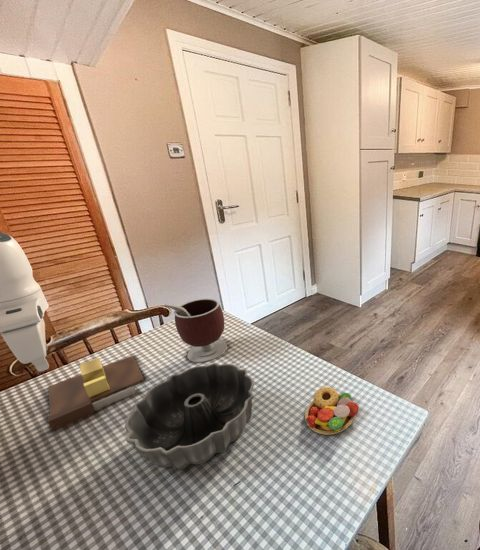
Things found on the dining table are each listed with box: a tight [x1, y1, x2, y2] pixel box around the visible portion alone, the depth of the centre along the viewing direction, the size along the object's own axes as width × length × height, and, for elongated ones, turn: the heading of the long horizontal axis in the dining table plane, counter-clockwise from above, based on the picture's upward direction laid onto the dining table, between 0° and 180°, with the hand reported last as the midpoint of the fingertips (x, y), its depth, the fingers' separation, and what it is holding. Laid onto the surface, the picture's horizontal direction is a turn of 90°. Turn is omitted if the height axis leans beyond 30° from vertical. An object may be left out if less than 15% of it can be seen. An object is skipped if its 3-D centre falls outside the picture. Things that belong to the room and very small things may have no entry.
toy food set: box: [304, 386, 360, 436], centre depth 78 cm, size 13×13×3 cm
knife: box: [47, 385, 137, 432], centre depth 79 cm, size 17×2×4 cm, turn 136°
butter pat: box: [84, 376, 110, 398], centre depth 84 cm, size 4×2×4 cm, turn 135°
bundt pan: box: [124, 362, 255, 471], centre depth 72 cm, size 26×26×10 cm
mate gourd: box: [164, 298, 228, 363], centre depth 100 cm, size 16×14×20 cm
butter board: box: [48, 355, 145, 416], centre depth 88 cm, size 20×16×5 cm
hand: (43, 359), depth 70 cm, fingers open, 8 cm apart
